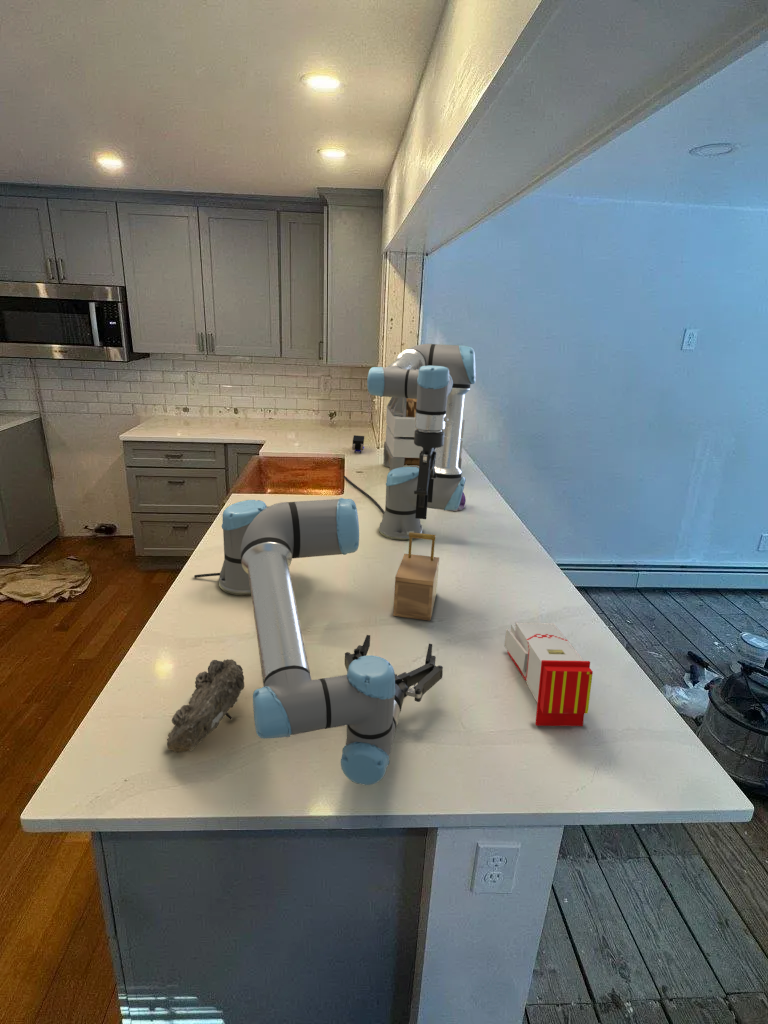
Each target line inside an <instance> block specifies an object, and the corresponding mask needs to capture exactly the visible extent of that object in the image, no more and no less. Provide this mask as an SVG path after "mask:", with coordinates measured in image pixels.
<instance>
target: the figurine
mask: <svg viewBox="0 0 768 1024" xmlns="http://www.w3.org/2000/svg"><path fill="white" fill-rule="evenodd" d="M466 503H467V502H466V496H465V492H463V493H462V497H461V501H460V505H459V507H458V509H457V510H450V511H451V512H452V511H453V512H457V511H462V510H463V509H465V505H466Z"/></svg>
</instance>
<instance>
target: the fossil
mask: <svg viewBox="0 0 768 1024" xmlns="http://www.w3.org/2000/svg"><path fill="white" fill-rule="evenodd" d="M243 670H244V669H243V667H242V665H240V664H237V662H236V661H235V660H234V659H232V658H231V659H227V658H226V659H224V660H223V661H222V660H217V659H212V660H211V661H210V663H209V665H208V666H207V671H201V672H199V673H198V674H197V675H196V676H195V680H194V684H195V685H194V687H195V689H194V690H193V693H192V694H191V697H190V698H189V700H188V704H184V705H182V706H181V707H180V709H177V710H176V711H175V713H174V715H173V716H172V718H171V723H172V724H173V727H172V730H171V731H170V732H168V734H167V738H166V741H167V742H166V745H167V749H168V750H169V751H173V752H174V753H176V754H178V753H182V752H188V751H189V752H192V751H193V750H195V748H196V747H197V746H199V744H200V743H201V742H203V741H204V740H205V739H206V738H207V737H208V736H209V735H210V734H211V733H212V732H214V730H215V729H217V727H218V726H219V724H220V722H221V721H222V720H223V719H224V718H225V716H226V717H227V719H229V720H233V717H232V715H230V714H229V710H230V709H231V708H234V706H235V704H236V703H237V702H238V699H239V697H240V695H241V693H242V691H243V690H245V689H244V688H245V675H244V671H243Z"/></svg>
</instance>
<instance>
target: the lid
mask: <svg viewBox="0 0 768 1024" xmlns="http://www.w3.org/2000/svg"><path fill="white" fill-rule="evenodd" d="M436 537H437V535H436V534H431V533H423V532H422V533H413V532H409V540H408V553H404V554H403V556H402V559H401V562H400V564H399V567H398V569H397V572H396V574H395V577H394V578H395V579H394V582H395V581H399V582H407V583H415V584H423V585H431V586H433V585H434V580H435V576H436V572H437V568H438V569H439V566H438V563H439V564H440V557H438V556H434V555H435V554H434V553H435V544H436V543H435V542H436ZM412 538H415V539H421V540H428V541H429V540H430V541H431V547H430V556H429V555H421V554H413V553H412V549H413V539H412Z"/></svg>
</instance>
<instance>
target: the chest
mask: <svg viewBox="0 0 768 1024" xmlns="http://www.w3.org/2000/svg"><path fill="white" fill-rule="evenodd" d="M439 565H440V562H439V563H438V568H437V572H436V576H435V580H434V585H433V586H431V585H423V584H415V583H407V582H399V581H395V580H394V592H393V593H394V595H393V614H392V615H393V617H400V618H407V619H414V620H421V621H432V616H433V611H434V606H435V601H436V598H437V597H436V596H437V591H438V590H437V588H438V578H439V577H438V576H439V575H438V574H439Z"/></svg>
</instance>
